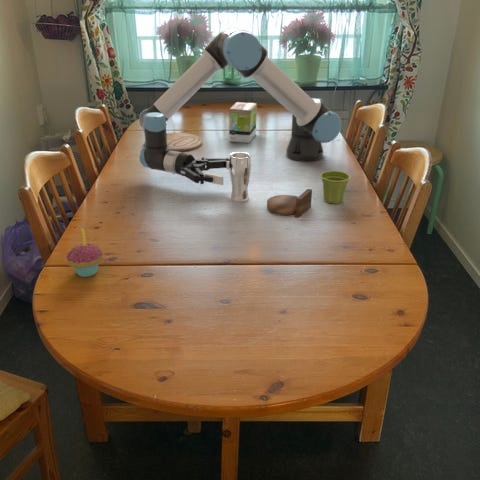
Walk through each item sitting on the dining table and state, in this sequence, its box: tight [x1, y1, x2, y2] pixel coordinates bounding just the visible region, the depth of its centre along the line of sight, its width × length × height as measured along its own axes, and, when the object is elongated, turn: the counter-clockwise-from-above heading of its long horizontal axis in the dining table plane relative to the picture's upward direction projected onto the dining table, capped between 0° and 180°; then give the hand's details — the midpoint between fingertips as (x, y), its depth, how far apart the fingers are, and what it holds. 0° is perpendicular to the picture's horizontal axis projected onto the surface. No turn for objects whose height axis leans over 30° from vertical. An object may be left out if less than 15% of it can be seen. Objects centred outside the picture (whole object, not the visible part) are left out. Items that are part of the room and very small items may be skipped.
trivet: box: [144, 132, 203, 153], centre depth 220 cm, size 25×25×2 cm
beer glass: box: [228, 151, 252, 203], centre depth 162 cm, size 7×7×15 cm
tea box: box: [228, 101, 258, 144], centre depth 226 cm, size 15×10×15 cm
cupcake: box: [66, 224, 104, 278], centre depth 121 cm, size 9×8×12 cm
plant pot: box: [320, 170, 351, 205], centre depth 163 cm, size 9×9×9 cm
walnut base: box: [266, 188, 313, 218], centre depth 158 cm, size 13×12×6 cm
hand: (233, 174), depth 162 cm, fingers open, 13 cm apart
